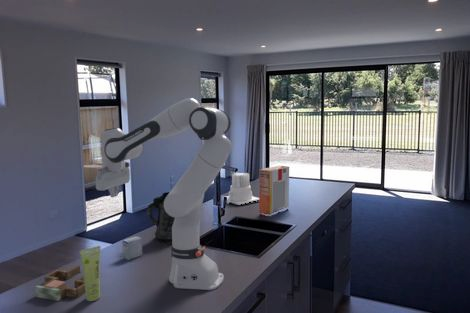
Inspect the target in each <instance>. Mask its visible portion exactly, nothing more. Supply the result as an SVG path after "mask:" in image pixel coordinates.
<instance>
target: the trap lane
mask: <svg viewBox="0 0 470 313" xmlns="http://www.w3.org/2000/svg"><path fill="white" fill-rule="evenodd" d="M80 273H81V265H79V264H77V265H75V266H73V267H72V268H70V269H68V270H64V269H56V270H53V271H51V272H50V273H48V274H46V275H44V284H42V285H38V284H36V286H34V295H35V298H40V299H45V300H51V301H56V302H59V301H61V300H63V299H64V298H65V297H71V298H75V299H76V298H79V297H81V296H83V295H84V294H86V293H85V283H84V275H81V276H80V277H79V278H77V279H75V280H74V281H73V282H74V287H70V286H66V287H64V288H62V289H56V288H50V287H45V285H47V284H49V283H51V282H52V281H54V280H58V281H65V280H70V279H71V278H72V277H75V276H77V275H78V274H80Z"/></svg>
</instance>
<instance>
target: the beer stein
mask: <svg viewBox="0 0 470 313" xmlns="http://www.w3.org/2000/svg"><path fill="white" fill-rule="evenodd" d="M170 192H171V191H170ZM170 192H168V191H167V192H163V193H162V195H160V196H157V197H155V198H153V200H152V201H153V202H151V203H150V204H148V206H147V209H146V215H147V217H148V219H149V220H150V222H151V223H152V224H154V226H156V228H155V232H154V236H155V240H156V241H155V242H158V243H160V244H167V245H168V244H172V226H173V223H174V219H175V217H172V216H170V215H168V214H167V212H166V211H165V209H164V200H165V198H166V197H167V195H168V194H169V193H170ZM154 209H158V215H157V219H156V218H155V217H154V216H153V214H152V212H153V210H154Z"/></svg>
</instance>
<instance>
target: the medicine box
mask: <svg viewBox="0 0 470 313" xmlns="http://www.w3.org/2000/svg"><path fill="white" fill-rule="evenodd" d="M141 256H143V239H142V237H140V236H133V237H129V238H126V239H124V240H122V257H123V259H125V260H127V261H130V260H132V259H135V258H138V257H141Z"/></svg>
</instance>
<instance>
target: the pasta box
mask: <svg viewBox="0 0 470 313" xmlns="http://www.w3.org/2000/svg"><path fill="white" fill-rule="evenodd" d="M258 198H259V201H258V202H259V208H258V209H259V212H258V213H264V214H269V215H270V214H272V213H274V212H277V211H279V210H282V209H284V208H287V207H289V206H290V205H289V204H290V203H289V202H290V166H286V165H285V166H284V165H276V166H271V167H266V168H262V169H259V197H258Z"/></svg>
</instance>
